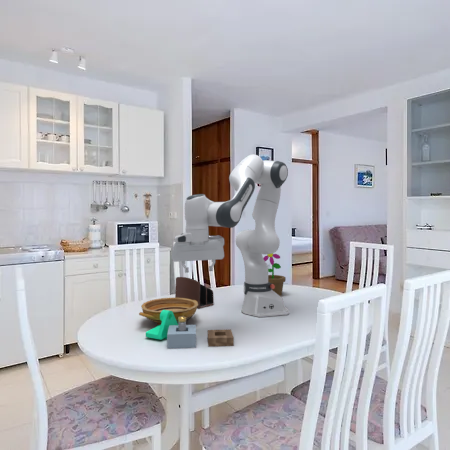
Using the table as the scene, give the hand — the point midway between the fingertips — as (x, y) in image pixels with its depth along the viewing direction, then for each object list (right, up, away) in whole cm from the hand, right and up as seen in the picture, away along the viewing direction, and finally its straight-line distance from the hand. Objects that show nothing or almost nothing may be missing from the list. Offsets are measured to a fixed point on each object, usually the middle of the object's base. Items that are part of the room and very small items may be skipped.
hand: (198, 271), depth 143 cm
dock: (-6, -25, -8) cm, 27 cm away
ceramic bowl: (-14, -24, +16) cm, 32 cm away
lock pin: (-6, -25, -8) cm, 27 cm away
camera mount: (-14, -25, 0) cm, 29 cm away
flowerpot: (+37, -22, +66) cm, 79 cm away
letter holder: (-6, -23, +48) cm, 53 cm away
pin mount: (+8, -25, -7) cm, 27 cm away
